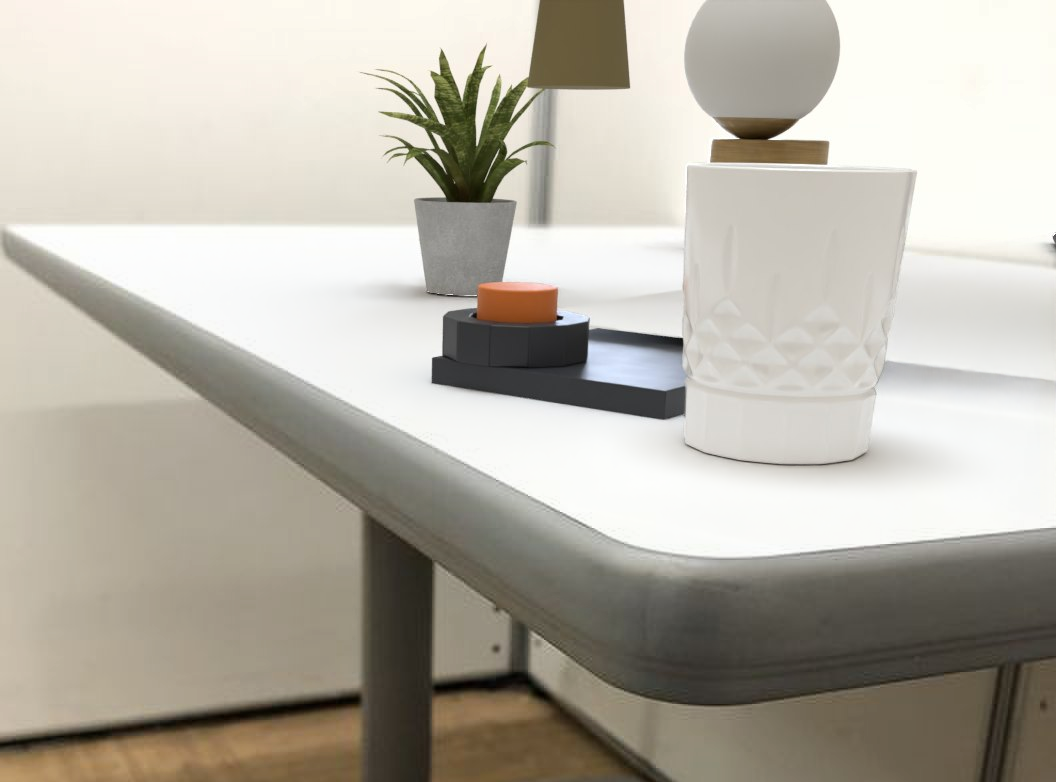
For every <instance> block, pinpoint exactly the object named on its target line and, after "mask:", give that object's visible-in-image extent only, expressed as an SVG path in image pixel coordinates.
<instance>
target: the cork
mask: <svg viewBox="0 0 1056 782" xmlns="http://www.w3.org/2000/svg"><path fill="white" fill-rule="evenodd" d="M626 27H627V25H626V12H625V0H539V3H538V10H537V17H536V24H535V31H534V37H533V44H532V52H531V58H530V65H529V70H528V71H529V72H528V77H529V78H528V85H527V87H526V88H530V89H538V90H539V89H540V90H542V89H545V90H568V91H569V90H570V91H572V90H573V91H574V90H575V91H578V90H579V91H582V90H584V91H586V90H587V91H598V90H599V91H603V90H611V91H612V90H629V89H631V79H630V67H629V66H630V65H629V53H628V40H627V39H628V38H627V28H626Z"/></svg>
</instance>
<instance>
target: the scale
mask: <svg viewBox="0 0 1056 782" xmlns="http://www.w3.org/2000/svg"><path fill="white" fill-rule="evenodd" d="M590 322H591V318H590V316H588V315H585V314H581V313H578V312H573V311H567V310H566V311H564V310H559V309H557V321H552V322H532V323H517V322H498V321H490V320H481V319H477V307H469V308H462V309H456V310H455V309H454V310H449V311H447V312H446V313H444V315H443V316H442V347H441V348H442V350H441V355H438V356H432V357H431V384H434V385H439V386H448V387H453V388H459V389H465V390H471V391H472V390H473V391H477V392H483V393H484V392H485V393H490V394H497V395H503V396H509V397H510V396H511V397H516V398H522V397H523V399H528V398H529V399H530V400H535V401H542V402H548V403H555V404H559V405H560V404H562V405H567V406H572V407H573V406H574V407H579V408H586V409H591V410H598V411H605V412H612V413H618V414H624V415H631V416H637V417H642V418H650V419H656V420H661V421H666V420H669V419H672V418H675V417H678V416H684V404H685V378H686V377H687V375H686V373H685V372H684V370H683V367H682V354H683V337H677V336H676V337H675V336H668V335H660V334H651V333H644V332H637V331H635V332H634V331H626V330H618V329H610V328H602V327H601V328H600V327H596V328H595V327H594V328H590Z"/></svg>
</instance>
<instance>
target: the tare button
mask: <svg viewBox="0 0 1056 782" xmlns="http://www.w3.org/2000/svg"><path fill="white" fill-rule="evenodd" d="M476 297H477V298H476V300H477V301H476V308H477V319H481V320H490V321H498V322H517V323H532V322H552V321H557V310H558V301H559V299H558V297H559V288H558V286H555V285H552V284H548V283H539V282H527V281H526V282H525V281H524V282H523V281H502V282H492V283H484V284H480V285H478V296H476Z"/></svg>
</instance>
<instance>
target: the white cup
mask: <svg viewBox="0 0 1056 782" xmlns="http://www.w3.org/2000/svg"><path fill="white" fill-rule="evenodd" d="M685 166H686V167H685V197H684V198H685V199H684V202H685V203H684V233H683V234H684V235H683V236H684V238H683V239H684V240H683V265H682V266H683V268H682V271H683V272H682V297H683V298H682V299H683V309H682V319H681V320H682V322H681V333H682V338H683V354H682V367H683V370H684V372H685V373H686V375H687V377H686V378H685V404H684V414H683V437H684V442H685V444H686V445H687V446H690V447H692V448H694V449H696V450H698V451H700V452H703V453H705V454H707V455H713V456H717V457H721V458H728V459H732V460H736V461H737V460H738V461H745V462H753V463H765V464H776V465H826V464H834V463H842V462H847V461H852V460H855V459H857V458H859V457H861V456H862V455H864V454H865V453H867V451H868V450H869V444H870V439H871V432H872V425H873V418H874V412H875V407H876V399H877V390H876V386H877V385H878V383H879V379H880V377H881V375H882V372H883V369H884V366H885V363H886V358H887V350H888V344H889V343H888V341H889V335H890V330H891V327H892V323H893V320H894V314H895V309H896V304H897V298H898V297H897V296H898V291H899V284H900V279H901V272H902V267H903V260H904V254H905V248H906V241H907V235H908V229H909V224H910V223H909V222H910V218H911V217H910V216H911V212H912V205H913V199H914V194H915V193H914V192H915V187H916V182H917V177H918V176H917V175H918V170H916V169H913V168H906V167H905V168H904V167H889V166H887V167H886V166H885V167H884V166H866V165H845V164H844V165H843V164H842V165H840V164H827V165H815V164H777V163H708V162H689V163H687V164H686V165H685Z"/></svg>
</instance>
